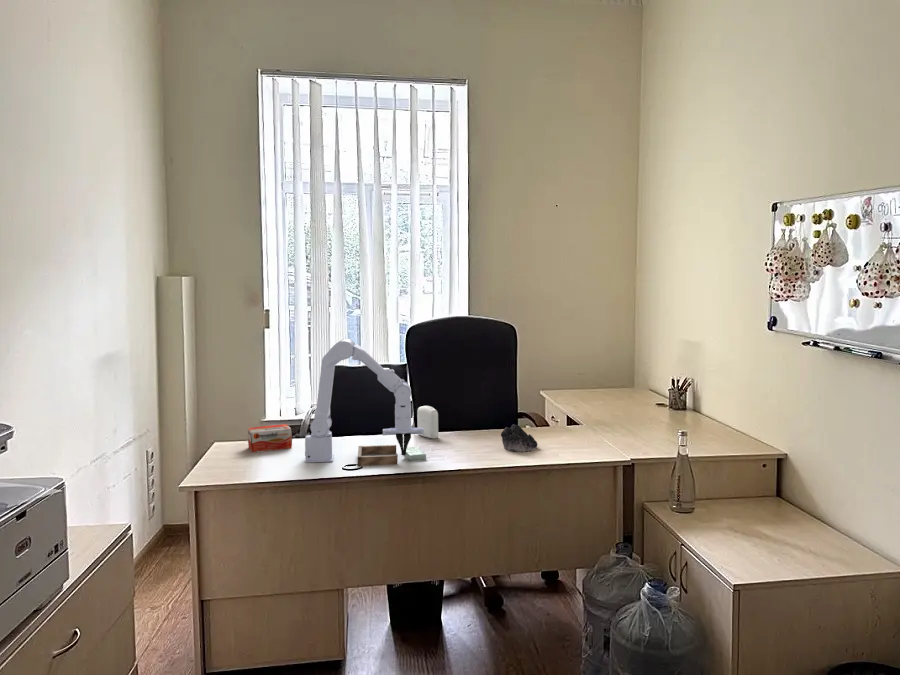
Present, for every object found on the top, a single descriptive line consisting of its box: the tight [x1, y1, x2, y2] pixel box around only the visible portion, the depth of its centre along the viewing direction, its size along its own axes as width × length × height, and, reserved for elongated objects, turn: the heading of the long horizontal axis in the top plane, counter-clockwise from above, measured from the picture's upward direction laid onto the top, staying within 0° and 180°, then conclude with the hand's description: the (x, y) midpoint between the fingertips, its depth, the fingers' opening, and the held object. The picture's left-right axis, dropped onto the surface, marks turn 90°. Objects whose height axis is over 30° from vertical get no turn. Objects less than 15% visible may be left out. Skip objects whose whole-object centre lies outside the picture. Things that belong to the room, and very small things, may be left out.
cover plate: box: [403, 446, 427, 462], centre depth 252 cm, size 6×11×2 cm, turn 19°
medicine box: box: [247, 423, 293, 453], centre depth 265 cm, size 15×8×8 cm, turn 115°
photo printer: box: [416, 405, 439, 439], centre depth 282 cm, size 10×4×12 cm, turn 39°
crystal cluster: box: [500, 423, 539, 453], centre depth 263 cm, size 13×14×10 cm
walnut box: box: [357, 444, 399, 467], centre depth 248 cm, size 14×15×3 cm
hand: (403, 454), depth 249 cm, fingers closed
